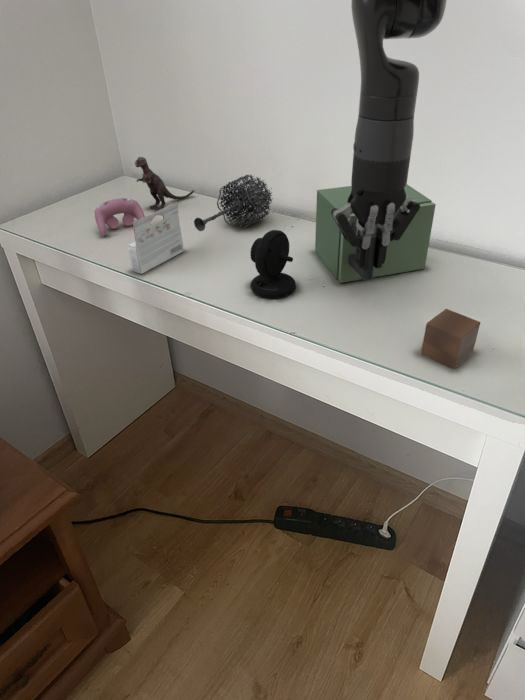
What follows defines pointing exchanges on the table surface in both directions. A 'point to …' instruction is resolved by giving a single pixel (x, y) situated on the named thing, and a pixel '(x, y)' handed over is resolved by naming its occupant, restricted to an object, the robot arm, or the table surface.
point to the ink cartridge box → (156, 239)
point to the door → (391, 249)
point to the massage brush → (241, 202)
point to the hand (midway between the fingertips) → (369, 266)
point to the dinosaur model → (155, 185)
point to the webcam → (272, 265)
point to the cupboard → (328, 229)
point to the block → (450, 338)
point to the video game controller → (116, 207)
